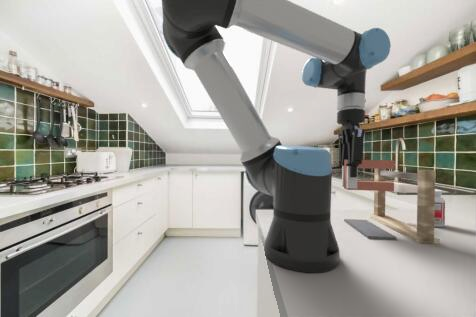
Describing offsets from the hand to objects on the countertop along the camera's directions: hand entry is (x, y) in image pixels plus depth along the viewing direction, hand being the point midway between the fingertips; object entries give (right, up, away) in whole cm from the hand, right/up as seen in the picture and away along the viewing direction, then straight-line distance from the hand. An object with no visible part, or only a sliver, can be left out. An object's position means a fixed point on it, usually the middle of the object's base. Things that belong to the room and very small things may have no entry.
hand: (349, 187), depth 67 cm
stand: (+14, -12, -1) cm, 19 cm away
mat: (+4, -12, -2) cm, 13 cm away
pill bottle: (+28, -12, +3) cm, 30 cm away
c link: (+5, -1, -1) cm, 6 cm away
